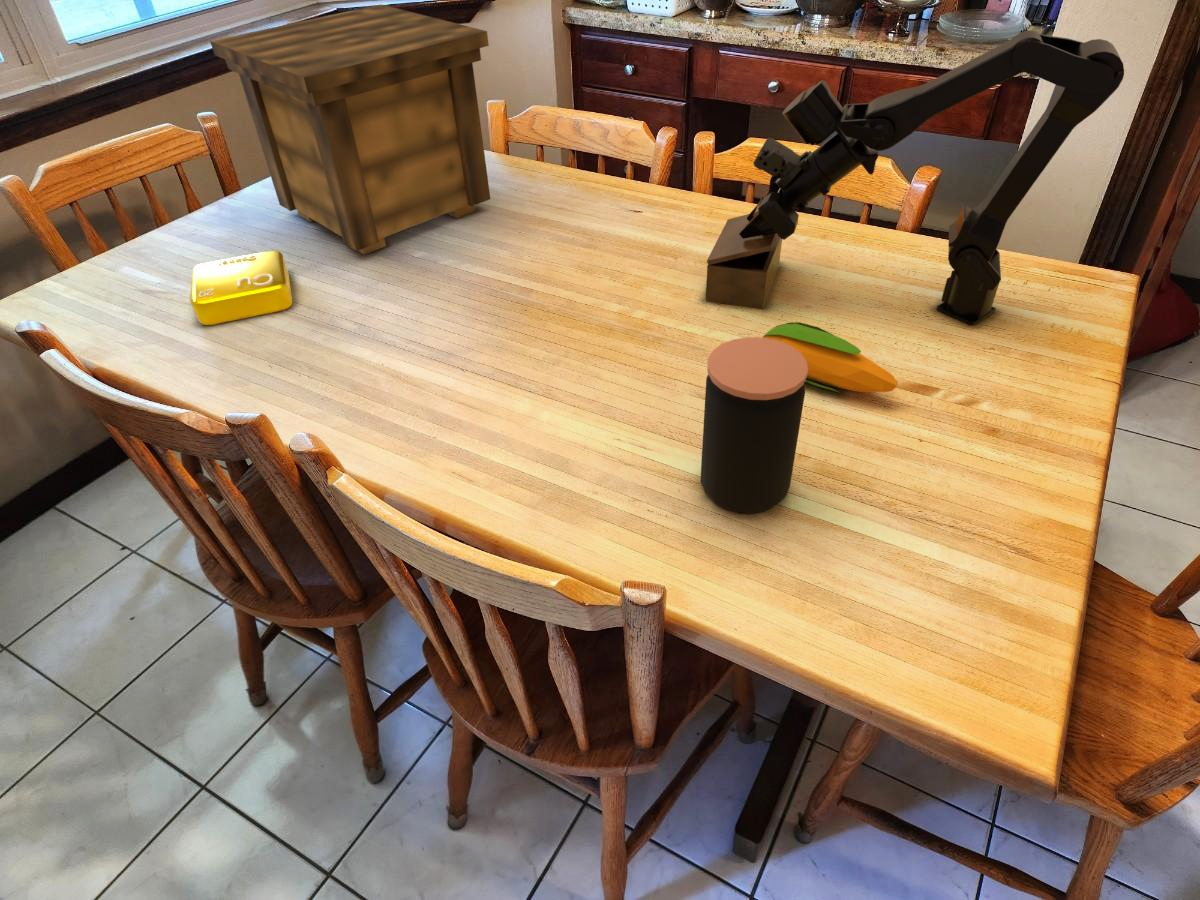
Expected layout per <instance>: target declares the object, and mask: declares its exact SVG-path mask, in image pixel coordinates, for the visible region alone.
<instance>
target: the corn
mask: <svg viewBox="0 0 1200 900" xmlns="http://www.w3.org/2000/svg"><path fill="white" fill-rule="evenodd" d="M761 338H768V339H773V340H778V341H780V342H783V343H785V344H788V345H790V346H792V347H793V348H795V349H796V350H797V351H799V352H800V353H801V354H802V355H803V357H804V358H805V359H806V361H807V365H808V375H807V378H806V380H805V382H804V383H807V384H810V385H812V386H815V387H818V388H821V389H826V390H830V391H833V392H836V393H841V391H839V390H838V389H834V388H839V389H844V390H848V391H853V392H860V393H861V392H863V393H864V392H866V393H867V392H869V393H873V392H874V393H888V392H893V391H894V390H895V389H896V388H897V387H898V380H897V379H896V378H895V376H894V375H893V374H892V373H890V372H889V371H888V370H886V369H884V368H883V367H881V366H880V365H878V364H877V363H876V362H874V361H872V359H870V358H868V357H866V356H865V355H863V354H862V350H861V349H860V348H858V347H857V346H856V345H854V344H852V343H851V342H849V341H848V340H846V339H844V338H841V337H839V336H836V335H834V334H833V333H832V332H829V331H827V330H825V329H823V328H821V327H820V326H819V327H818V326H815V325H811V324H808V323H803V322H801V321H800V322H797V321H795V322H786V323H785V322H784V323H782V324H778V325H775V326H774V327H772V328H771V329H770V330H768V331H767V332H766V333H765V334H763V336H762V337H761ZM825 385H826V386H825ZM832 387H834V388H832Z"/></svg>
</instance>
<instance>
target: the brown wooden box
mask: <svg viewBox="0 0 1200 900" xmlns="http://www.w3.org/2000/svg"><path fill="white" fill-rule="evenodd" d="M782 244H783V239H781V238H780V237H779V236H778V237H777V239H776V242H775V244H774V247H773V249H772V251H768V252H763V253H759V254H755V255H750V256H746V257H741V258H737V259H733V260H728V261H724V262H720V263H715V264H711V265H708V264H707V266H706V282H705V283H706V284H705V302H709V303H710V302H711V303H715V304H724V305H731V306H737V307H746V308H754V309H758V310H759V309H761V310H764V308H765V304H766V302H767V299H768V296H769V293H770V290H771V288H772V285H773V283H774V280H775V278H776V274H777V272H778V269H779V267H780V263H781V261H780V260H781V253H782Z"/></svg>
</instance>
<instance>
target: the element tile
mask: <svg viewBox="0 0 1200 900" xmlns="http://www.w3.org/2000/svg"><path fill="white" fill-rule="evenodd" d="M289 273H290V272H289V269H288V267H287V264H286V261H285V258H284V256H283V253H282V252H281V251H279V250H269V251H262V252H258V253H251V254H247V255H241V256H237V257H231V258H226V259H225V258H224V259H219V260H215V261H210V262H204V263H200V264H197V265H195V266H194V268H192V271H191V284H190V298H189V300H190V301H189V302H190V304H191V306H192V308H193V311H194V313H195V315H196V318H197V320H198V322H199V323H200V324H201V325H204V326H213V325H218V324H223V323H227V322H232V321H239V320H244V319H248V318H252V317H257V316H262V315H263V316H264V315H268V314H272V313H277V312H282V311H285V310H287V309H289V308H290V307H291V306H292V305H293V295H292V289H291V281H290V274H289Z"/></svg>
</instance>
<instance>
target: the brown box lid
mask: <svg viewBox="0 0 1200 900" xmlns="http://www.w3.org/2000/svg"><path fill="white" fill-rule="evenodd" d="M763 197H764V196H763ZM764 198H765V197H764ZM761 199H762V197H761V198H760V200H759V202H758V203H760V201H761ZM758 203H757V204H758ZM758 207H759V204H758ZM758 207H757V209H756V211H755V213H754V216H755V215H756V214H757V213H758V212H759V210H758ZM749 214H750V213H748V214H743V215H739V216H736V217H732V218H728V219H727V220H726V221H725V222H726V223H725V224H724V227H723V228H722V230H721V232H720V234H719V236H718V237H717V240H716V242H715V244H714V246H713V248H712V250H711V252H710V253H709V256H708V257H707V259H706V263H707V266H708V265H711V264H715V263H720V262H724V261H728V260H733V259H737V258H741V257H746V256H750V255H755V254H759V253H763V252H768V251H772V249H773V247H774V244H775V242H776V239H777V237H778V234H777V233H775V234H767V235H761V236H756V237H750V238H745V239H743V238H742V237H741V236H740V235H739V233H740V232H741V231H742V229H743V228H744V227H745V226H746V225H747V224H748V223H749V221H748V220H747V216H748V215H749Z"/></svg>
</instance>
